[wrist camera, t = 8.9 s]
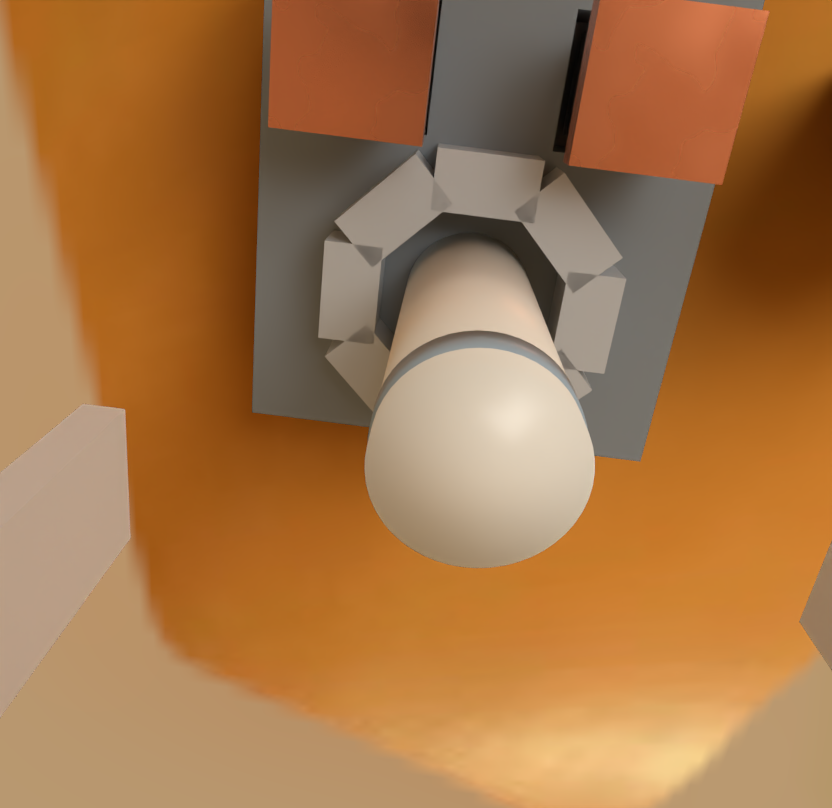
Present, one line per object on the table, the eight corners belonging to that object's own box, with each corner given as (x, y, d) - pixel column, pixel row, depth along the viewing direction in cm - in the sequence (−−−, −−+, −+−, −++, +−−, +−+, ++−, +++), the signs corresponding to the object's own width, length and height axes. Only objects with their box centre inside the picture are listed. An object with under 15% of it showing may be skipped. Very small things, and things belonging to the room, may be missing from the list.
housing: (297, -48, 28) (250, -89, 21) (716, 6, 28) (794, -19, 21) (278, 369, 34) (238, 433, 28) (615, 412, 35) (652, 485, 28)
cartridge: (412, 223, 27) (373, 347, 14) (540, 240, 27) (621, 378, 14) (398, 345, 28) (352, 555, 16) (518, 360, 28) (571, 582, 16)
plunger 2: (567, 13, 26) (601, -11, 20) (695, 29, 26) (769, 11, 20) (543, 149, 28) (568, 165, 22) (663, 164, 28) (721, 184, 22)
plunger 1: (316, -19, 26) (273, -53, 20) (444, -3, 26) (441, -31, 20) (309, 119, 28) (267, 127, 22) (428, 134, 28) (421, 146, 22)
